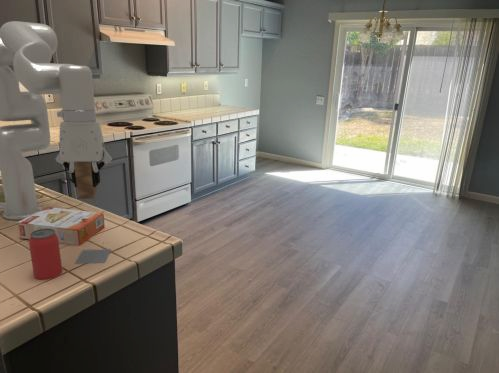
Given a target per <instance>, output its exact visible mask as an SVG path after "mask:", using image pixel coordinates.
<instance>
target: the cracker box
mask: <svg viewBox="0 0 499 373" xmlns="http://www.w3.org/2000/svg"><path fill="white" fill-rule="evenodd" d="M17 225H18V233H19V238H20V239H21V240H22V239H23V240H29V239H30V234H31V233H32V232H33V231H36V230H39V229H45V228H49V229H53V230H55V233H56V235H57V237H58V241H59V244H65V245H73V246H82V244H84V243H85V242H87V241H89V240H90V239H91V238H92V237H94V236H95V235H97V234H98V233H99V232H101V231H103V230H104V229H105V227H106V226H105V217H104V213H102V212H95V211H94V212H93V211H85V210H77V209H71V208H70V209H67V208H60V207H53V206H52V207H51V206H47V207H46V208H43V210H41V211H40V212H38V213H35V214H33V215H31V216H29V217H27V218H25V219H20V220H19V221H17Z"/></svg>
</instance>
